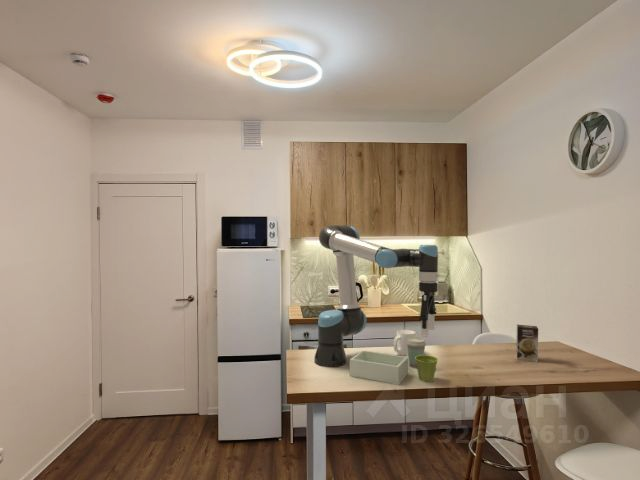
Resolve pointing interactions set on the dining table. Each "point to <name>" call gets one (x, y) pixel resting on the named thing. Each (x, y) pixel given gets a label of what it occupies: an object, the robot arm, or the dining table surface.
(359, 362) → the box
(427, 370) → the plant pot
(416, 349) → the coffee cup
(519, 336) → the coffee box
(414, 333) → the mug
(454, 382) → the dining table surface
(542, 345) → the dining table surface
